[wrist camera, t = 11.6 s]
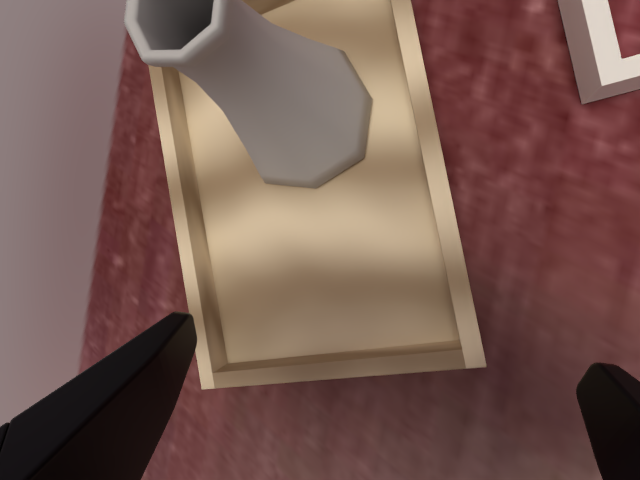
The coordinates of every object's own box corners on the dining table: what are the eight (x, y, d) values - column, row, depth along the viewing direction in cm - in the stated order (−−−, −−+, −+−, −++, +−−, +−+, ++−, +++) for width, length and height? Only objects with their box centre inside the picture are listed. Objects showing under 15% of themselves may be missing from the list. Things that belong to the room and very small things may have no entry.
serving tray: (479, 349, 17) (486, 366, 15) (227, 372, 21) (201, 389, 19) (397, -45, 18) (392, -87, 16) (173, 51, 22) (142, 29, 20)
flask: (255, 203, 20) (85, 171, 10) (234, 76, 20) (51, -72, 10) (386, 172, 17) (329, 92, 8) (360, 30, 18) (274, -210, 8)
